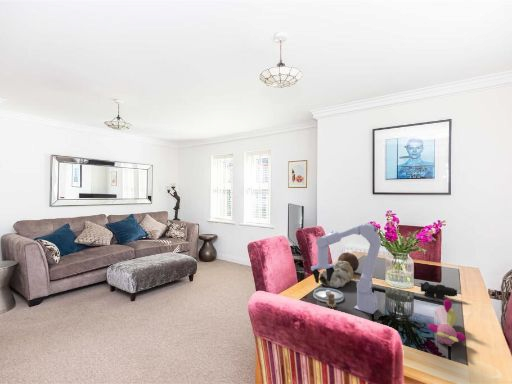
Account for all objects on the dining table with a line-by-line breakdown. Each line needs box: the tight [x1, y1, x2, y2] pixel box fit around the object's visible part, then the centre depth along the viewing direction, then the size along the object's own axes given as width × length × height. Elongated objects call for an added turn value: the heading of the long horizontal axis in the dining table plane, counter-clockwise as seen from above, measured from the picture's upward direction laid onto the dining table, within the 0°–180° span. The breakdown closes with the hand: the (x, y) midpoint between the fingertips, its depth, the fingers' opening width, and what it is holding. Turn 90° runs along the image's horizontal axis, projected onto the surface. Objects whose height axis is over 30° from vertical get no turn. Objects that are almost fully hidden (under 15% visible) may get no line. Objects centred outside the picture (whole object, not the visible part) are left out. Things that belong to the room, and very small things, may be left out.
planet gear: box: [326, 294, 337, 309], centre depth 140 cm, size 5×5×6 cm
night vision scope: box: [419, 281, 458, 300], centre depth 152 cm, size 8×18×10 cm
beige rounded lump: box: [319, 260, 355, 289], centre depth 173 cm, size 16×15×26 cm
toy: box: [428, 299, 467, 347], centre depth 112 cm, size 12×12×30 cm
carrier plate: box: [312, 287, 344, 304], centre depth 152 cm, size 17×17×4 cm
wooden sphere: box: [337, 251, 360, 273], centre depth 198 cm, size 15×15×15 cm
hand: (322, 281), depth 149 cm, fingers open, 7 cm apart
